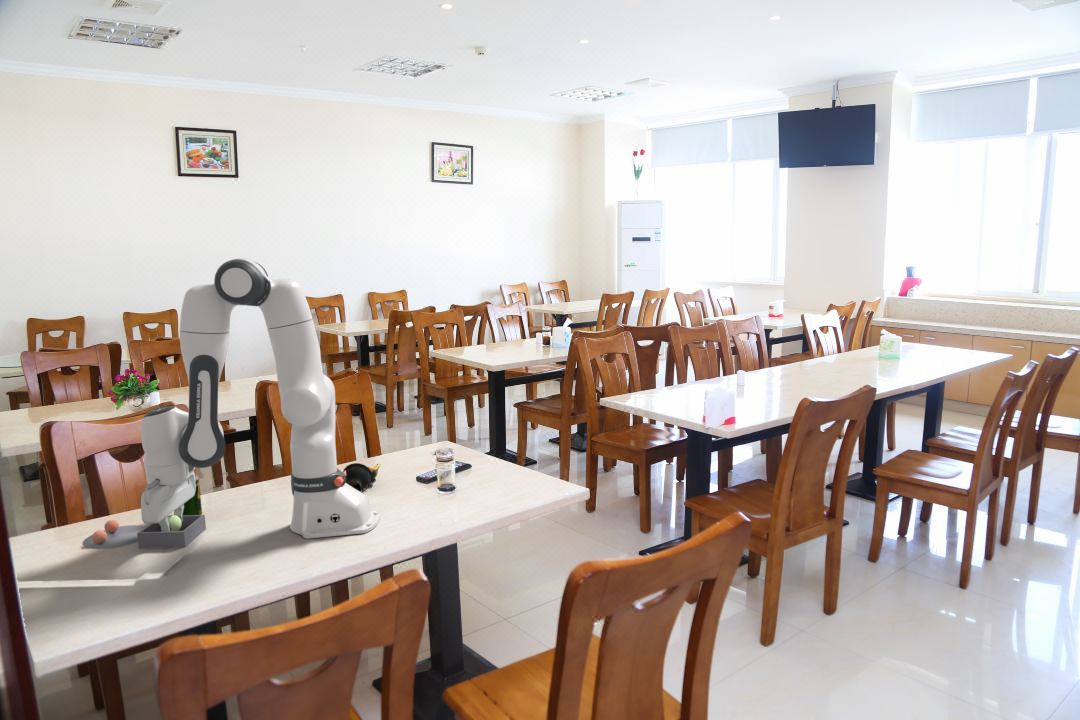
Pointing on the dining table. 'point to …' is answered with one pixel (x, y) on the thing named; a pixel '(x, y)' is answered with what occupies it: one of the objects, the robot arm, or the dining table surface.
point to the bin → (172, 533)
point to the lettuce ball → (174, 522)
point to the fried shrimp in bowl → (360, 475)
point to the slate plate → (116, 538)
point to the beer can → (194, 502)
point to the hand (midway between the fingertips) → (172, 527)
